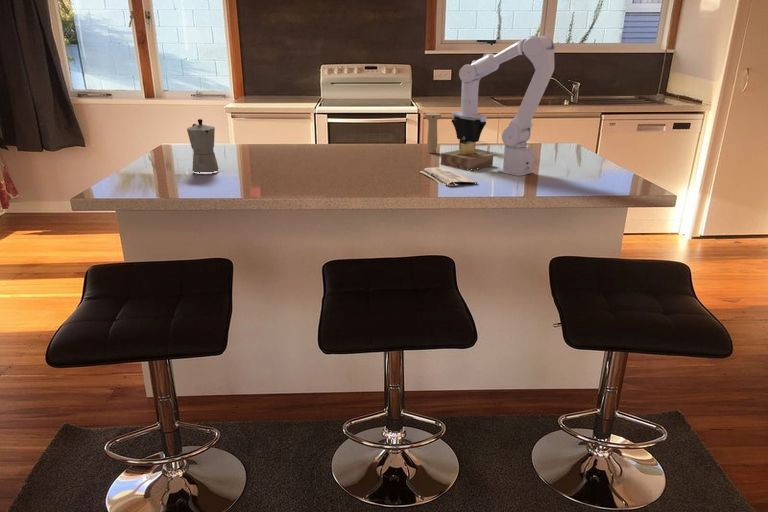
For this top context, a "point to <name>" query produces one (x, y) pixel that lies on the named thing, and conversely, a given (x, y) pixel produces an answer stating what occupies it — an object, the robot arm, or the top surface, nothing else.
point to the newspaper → (446, 176)
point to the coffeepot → (203, 147)
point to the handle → (432, 131)
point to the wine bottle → (467, 132)
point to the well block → (466, 160)
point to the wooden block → (467, 148)
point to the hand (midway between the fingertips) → (467, 140)
